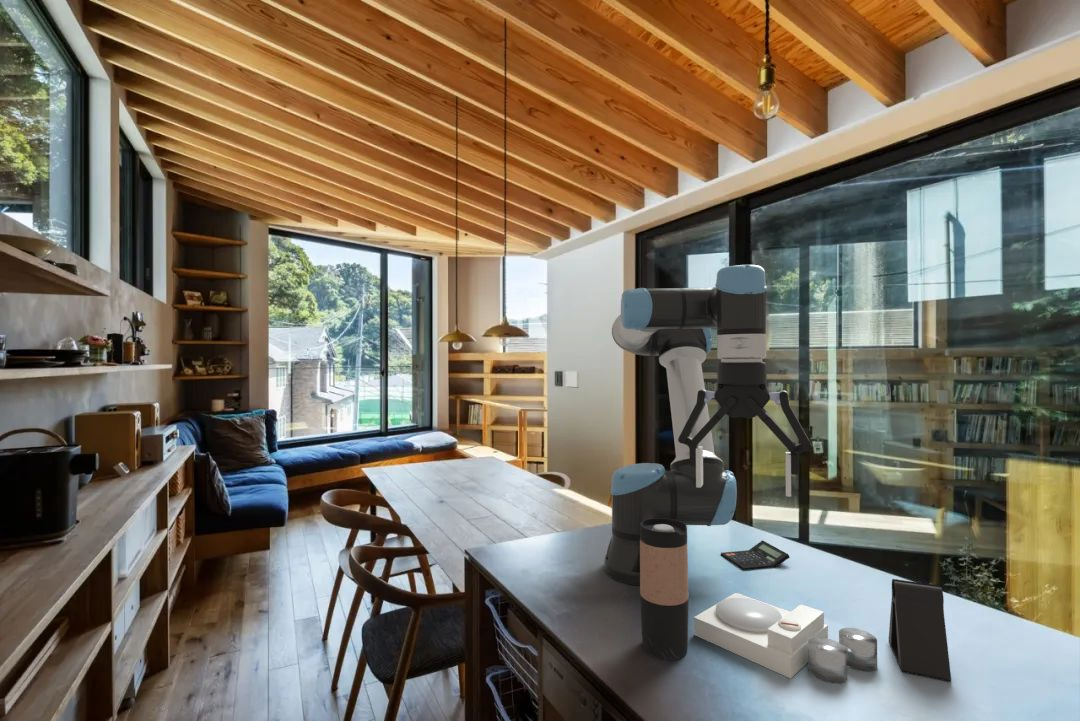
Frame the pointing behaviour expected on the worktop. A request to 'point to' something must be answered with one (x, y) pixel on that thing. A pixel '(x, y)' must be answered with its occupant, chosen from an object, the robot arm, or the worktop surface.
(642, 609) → the travel mug
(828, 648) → the cylinder
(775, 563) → the calculator
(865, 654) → the cylinder
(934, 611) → the phone stand
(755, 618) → the scale
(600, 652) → the worktop surface
